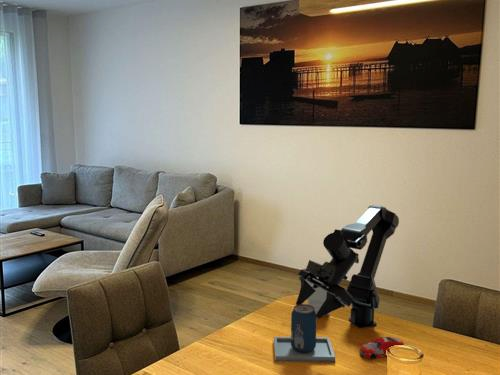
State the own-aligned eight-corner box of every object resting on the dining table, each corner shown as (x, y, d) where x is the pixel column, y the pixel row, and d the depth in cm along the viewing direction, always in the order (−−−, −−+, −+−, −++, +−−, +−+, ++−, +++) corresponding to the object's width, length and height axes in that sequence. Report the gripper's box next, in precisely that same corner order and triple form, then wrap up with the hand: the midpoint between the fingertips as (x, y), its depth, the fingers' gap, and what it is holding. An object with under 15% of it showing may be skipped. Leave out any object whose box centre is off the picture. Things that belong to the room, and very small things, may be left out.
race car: (365, 362, 124) (366, 348, 123) (355, 352, 129) (356, 338, 128) (407, 354, 127) (408, 341, 127) (396, 345, 132) (396, 332, 132)
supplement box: (328, 306, 159) (329, 271, 157) (329, 315, 152) (331, 279, 150) (306, 305, 160) (307, 270, 158) (307, 314, 153) (308, 278, 151)
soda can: (313, 342, 132) (314, 302, 130) (318, 354, 125) (319, 313, 124) (289, 343, 132) (289, 303, 130) (292, 355, 125) (293, 313, 123)
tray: (328, 342, 134) (328, 337, 133) (335, 362, 123) (335, 356, 123) (273, 341, 134) (273, 336, 134) (275, 361, 123) (275, 356, 123)
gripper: (303, 242, 135) (271, 284, 132) (345, 259, 119) (310, 308, 115) (324, 263, 140) (293, 305, 137) (367, 283, 124) (334, 330, 120)
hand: (306, 311), depth 127 cm, fingers open, 9 cm apart
